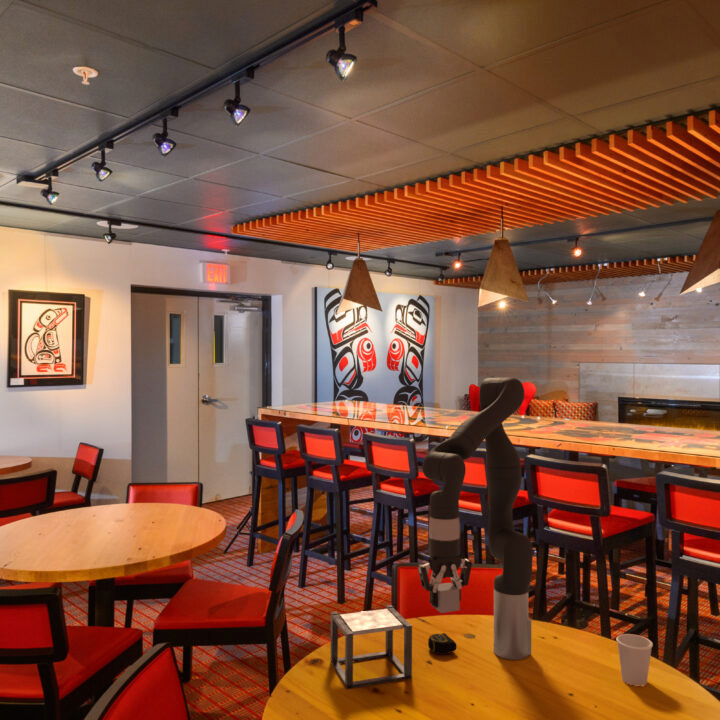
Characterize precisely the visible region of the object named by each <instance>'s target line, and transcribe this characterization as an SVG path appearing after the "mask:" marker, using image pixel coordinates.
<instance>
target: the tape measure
mask: <svg viewBox="0 0 720 720" xmlns="http://www.w3.org/2000/svg"><path fill="white" fill-rule="evenodd" d="M427 640H428V641H427V644H428V645H427V646H428V649H429V650H430V651H431V652H433V653H435V654H439V655H446V654H449V653H453V652H456V650H457V642H455V640H453V639H452V638H451V637H449V635H448V634H447V633H445V632H442V633H433V634H430V636H429V638H428V639H427Z"/></svg>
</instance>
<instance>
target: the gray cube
mask: <svg viewBox="0 0 720 720" xmlns="http://www.w3.org/2000/svg"><path fill="white" fill-rule="evenodd" d="M437 592H438V608H434V609H435V610H437V611H438V613H440V614H444V613H450V612H456V611H461V609H460V602H459V589H458V588H457V587H455V586H454V585H453V584H452V582H443V583H440V584H439V587H438V590H437Z"/></svg>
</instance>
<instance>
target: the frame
mask: <svg viewBox="0 0 720 720" xmlns="http://www.w3.org/2000/svg"><path fill="white" fill-rule="evenodd" d="M385 609H388V610H389V611H390V612H391V613H392V614H393V615H394V617H395V618H396V619H397V620H398V621H399V622H400V623H401V624H402V625H403V663H402V662H401V661H400V659H399V658H398V657H397V656H396V655H395V653H394V650H393V649H394V630H390V631H385V651H378V652H371V653H365V654H357V655H354V635H353V633H352V631H350V629H349V628H348V627H347V625H346V624H345V623H344V622H343V620H342V619H341V618H340V616H339V613H338V612H337V611H335V610H334V611H330V664H331V663H332V664H331V666H332V665H333V666H332V667H333V669H334V668H335V669H334V671H335V672H336V673H338V674H337V675H338V677H339V678H341V679H340V680H341V682H342V683H343V685H344V686H345V688H346V689H347V690H349V689H355V688H361V687H362V688H363V687H368V686H373V685H374V686H375V685H381V684H387V683H393V682H398V681H404V680H405V681H406V680H412V678H413V677H412V676H413V625H412V624H411V623H409V621H408V620H406V619H405V617H404V616H402V615H401V614H400V613H399V611H397V610H396V609H395V608H394V606H393V605H392V604H387V605H385ZM339 630H340V631H341V633H342V634H343V635H344V637H345V638H344V639H345V641H344V642H345V645H344V646H345V649H344V650H345V652H344V657H339V656H338V655H339V654H338V652H339V649H338V648H339V643H338V642H339ZM381 658H388V659H389V660H390V661H391V662H392V664H393V665H394V667H396V669H397V670H398V671H399V674H398V673H397V674H392V675H387V676H379V677H373V678H367V679H361V680H355V681H354V662H353V661H355V662H360V661H359V660H362V661H368V660H367V659H369V660H375V659H381ZM344 662H345V663H344ZM339 663H342V664H344V668H343V667H342V666H341V664H339Z"/></svg>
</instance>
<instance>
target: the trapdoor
mask: <svg viewBox="0 0 720 720" xmlns="http://www.w3.org/2000/svg"><path fill="white" fill-rule="evenodd" d="M338 615H339V616H340V618H341V619H342V620H343V622H344V623H345V624H346V625H347V627H348V628H349V629H350V631H352V633H353V636H358V635H359V636H360V635H366V634H373V633H381V632H386V631H390V630H393V631H395V630H396V631H397V630H404V628H403V625H402V624H401V623H400V622H399V621H398V620H397V619H396V618H395V617H394V615H393V614H392V613H391V612H390V611H389V610H388V609H386V608H381V609H372V610H371V609H370V610H365V611H356V612H348V613H338Z"/></svg>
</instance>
